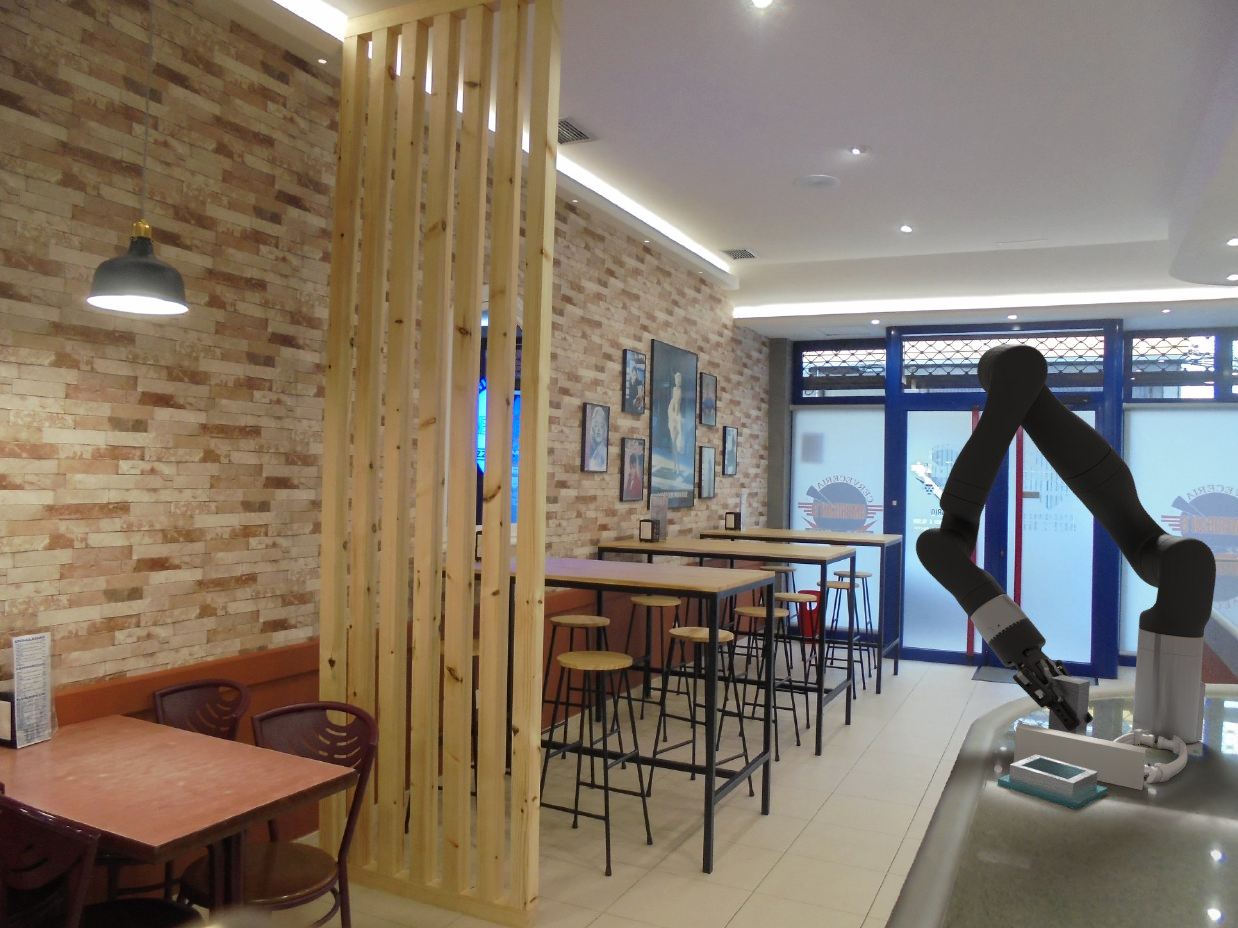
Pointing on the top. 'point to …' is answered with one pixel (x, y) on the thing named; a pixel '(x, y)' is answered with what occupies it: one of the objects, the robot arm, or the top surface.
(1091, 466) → the robot arm
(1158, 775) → the door handle
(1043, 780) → the keeper
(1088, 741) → the door edge
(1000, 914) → the top surface
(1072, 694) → the block
